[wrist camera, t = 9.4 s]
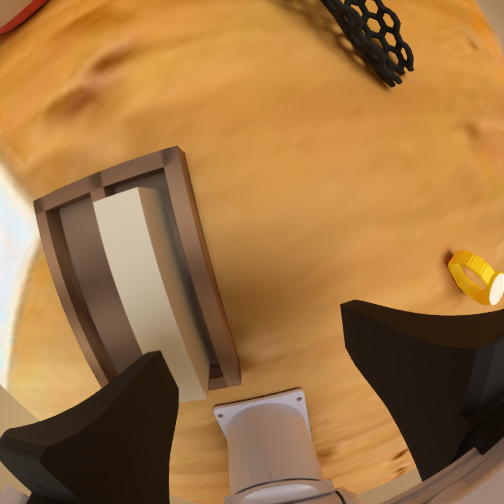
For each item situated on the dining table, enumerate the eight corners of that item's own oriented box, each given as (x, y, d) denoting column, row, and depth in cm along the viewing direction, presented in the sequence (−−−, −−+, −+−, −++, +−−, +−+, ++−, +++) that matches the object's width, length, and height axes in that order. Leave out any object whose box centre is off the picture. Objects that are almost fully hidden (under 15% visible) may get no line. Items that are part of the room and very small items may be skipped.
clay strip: (210, 354, 19) (206, 398, 14) (178, 360, 19) (167, 403, 14) (162, 189, 16) (137, 187, 12) (127, 199, 16) (92, 202, 11)
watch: (469, 277, 22) (509, 297, 16) (455, 297, 22) (495, 321, 16) (452, 238, 20) (500, 254, 14) (436, 260, 20) (484, 282, 14)
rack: (239, 363, 20) (241, 384, 18) (118, 380, 20) (108, 399, 17) (184, 153, 17) (177, 145, 14) (54, 199, 17) (33, 201, 14)
